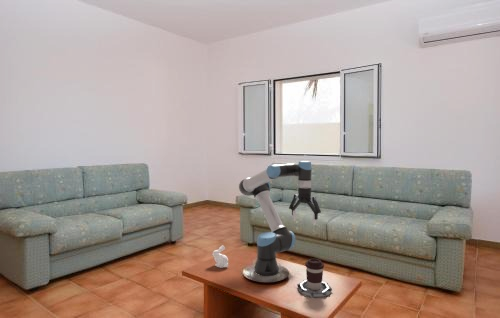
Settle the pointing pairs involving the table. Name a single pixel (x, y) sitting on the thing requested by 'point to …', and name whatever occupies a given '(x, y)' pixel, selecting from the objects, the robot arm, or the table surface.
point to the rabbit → (220, 258)
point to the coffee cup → (314, 273)
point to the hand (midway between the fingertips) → (304, 222)
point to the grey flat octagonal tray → (319, 293)
